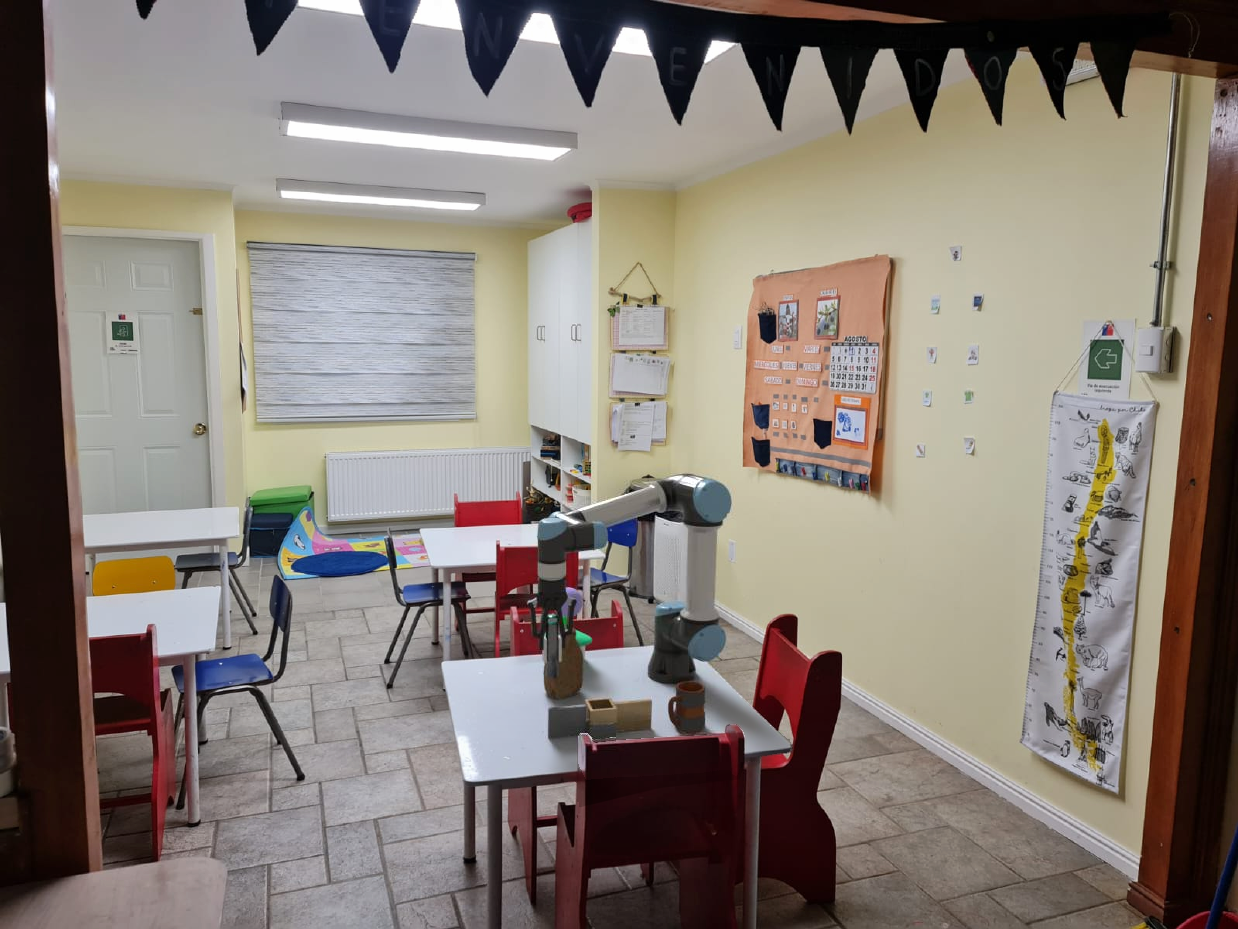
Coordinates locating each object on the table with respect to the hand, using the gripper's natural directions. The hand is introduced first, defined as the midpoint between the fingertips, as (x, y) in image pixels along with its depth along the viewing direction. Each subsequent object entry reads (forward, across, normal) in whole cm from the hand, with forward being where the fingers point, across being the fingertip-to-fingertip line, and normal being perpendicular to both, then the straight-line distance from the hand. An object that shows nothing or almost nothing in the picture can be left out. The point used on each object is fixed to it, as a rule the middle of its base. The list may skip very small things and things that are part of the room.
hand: (552, 660), depth 232 cm
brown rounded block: (+18, -6, -18) cm, 26 cm away
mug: (+18, -34, +11) cm, 41 cm away
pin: (+5, 0, 0) cm, 5 cm away
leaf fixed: (+18, -6, +9) cm, 21 cm away
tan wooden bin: (+18, -17, +9) cm, 26 cm away
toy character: (+18, -12, -42) cm, 47 cm away
